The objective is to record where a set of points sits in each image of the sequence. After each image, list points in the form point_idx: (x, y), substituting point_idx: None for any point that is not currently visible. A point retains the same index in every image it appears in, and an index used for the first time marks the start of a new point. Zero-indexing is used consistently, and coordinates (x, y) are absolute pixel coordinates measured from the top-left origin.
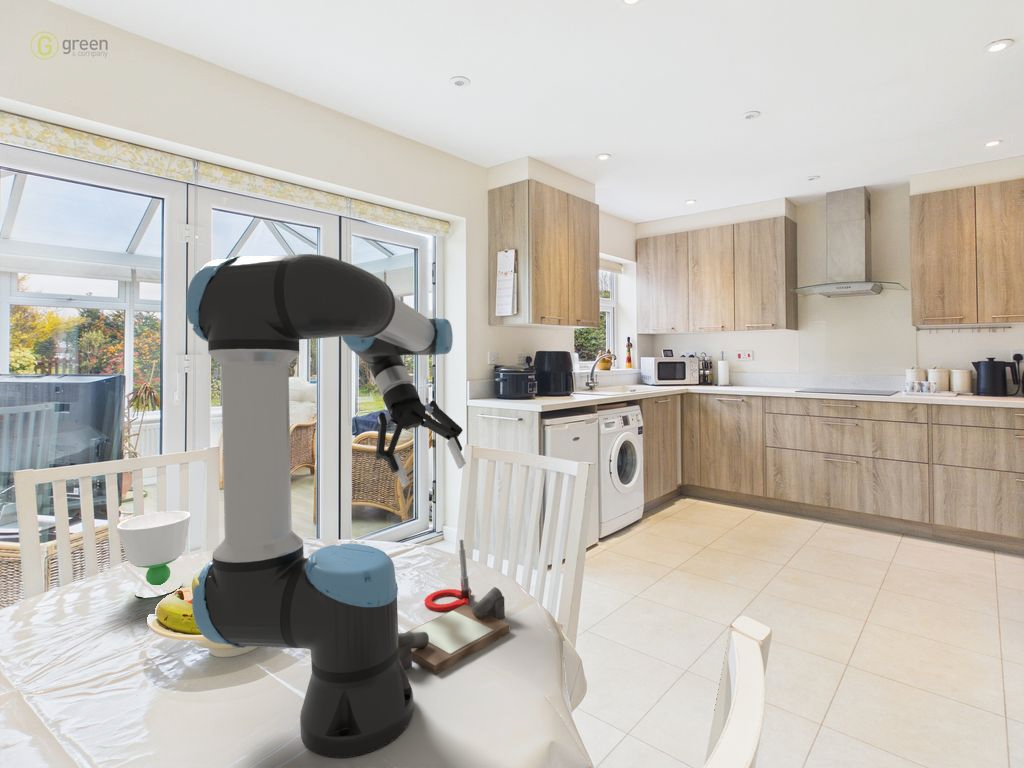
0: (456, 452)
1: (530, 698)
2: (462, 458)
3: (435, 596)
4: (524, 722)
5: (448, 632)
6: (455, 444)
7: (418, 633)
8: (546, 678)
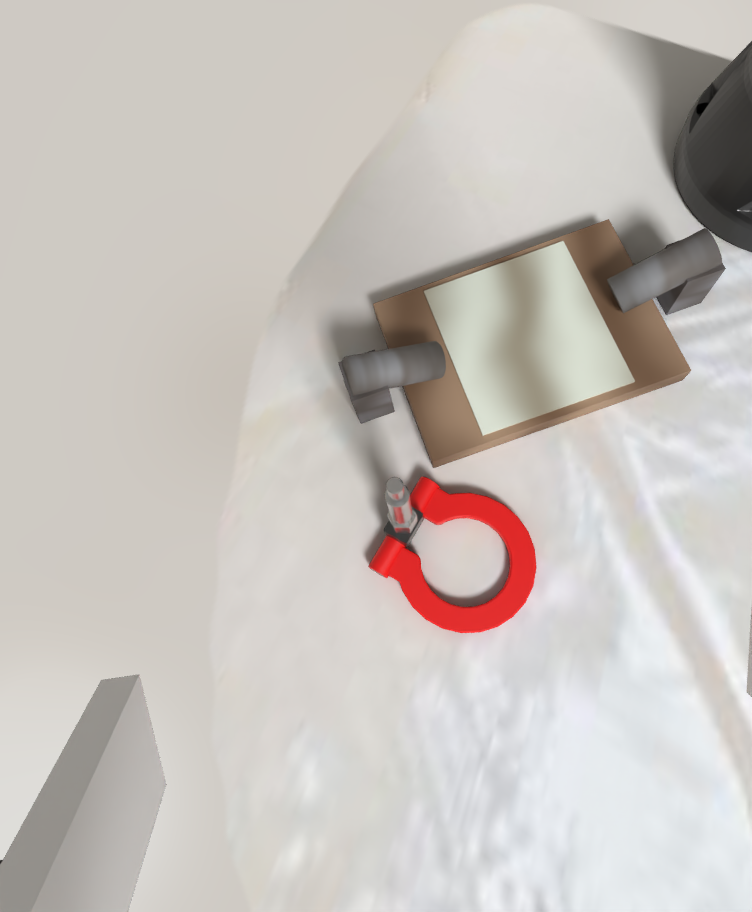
0: (91, 818)
1: (453, 104)
2: (95, 717)
3: (488, 601)
4: (493, 60)
5: (535, 328)
6: (9, 901)
7: (640, 270)
8: (395, 140)
